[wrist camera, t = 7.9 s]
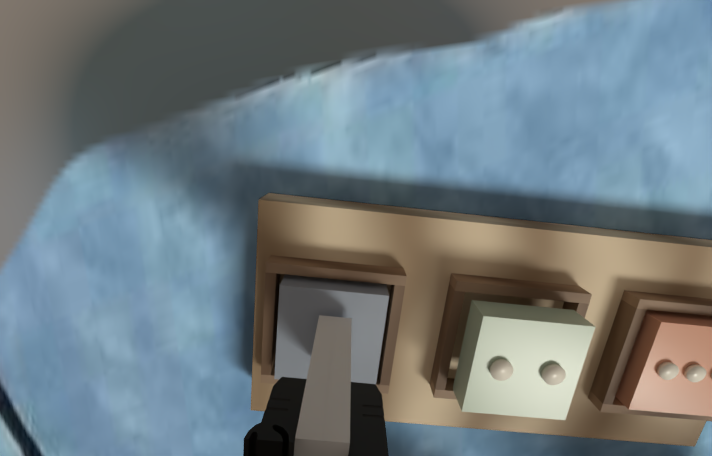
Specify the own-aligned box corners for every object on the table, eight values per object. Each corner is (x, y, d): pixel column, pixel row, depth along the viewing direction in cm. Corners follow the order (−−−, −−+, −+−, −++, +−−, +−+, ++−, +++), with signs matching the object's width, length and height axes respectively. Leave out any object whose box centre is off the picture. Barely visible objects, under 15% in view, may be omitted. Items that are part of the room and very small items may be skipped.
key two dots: (452, 388, 17) (463, 415, 16) (471, 300, 16) (485, 318, 14) (547, 397, 18) (567, 423, 16) (574, 309, 16) (598, 329, 15)
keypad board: (260, 384, 21) (245, 424, 18) (268, 192, 18) (252, 203, 15) (664, 419, 22) (712, 462, 19) (738, 242, 19) (807, 261, 16)
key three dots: (607, 388, 19) (631, 412, 17) (636, 306, 18) (665, 324, 16) (693, 396, 19) (725, 420, 17) (728, 315, 18) (767, 334, 16)
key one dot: (280, 359, 18) (273, 381, 16) (285, 272, 17) (278, 287, 15) (373, 367, 18) (375, 390, 17) (385, 282, 17) (389, 297, 15)
